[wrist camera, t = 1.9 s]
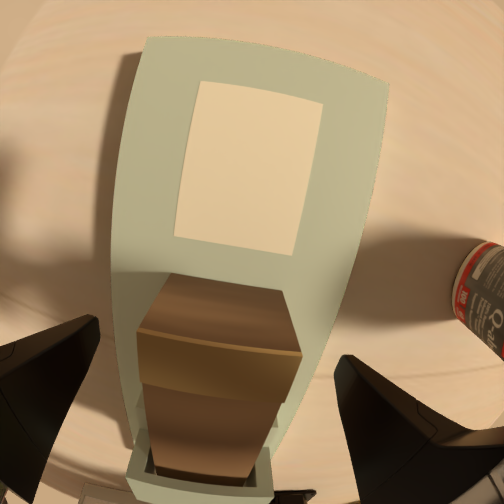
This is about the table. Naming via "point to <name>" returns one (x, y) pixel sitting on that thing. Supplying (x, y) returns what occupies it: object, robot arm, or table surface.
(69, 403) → the robot arm
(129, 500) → the red striped block
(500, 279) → the pill bottle
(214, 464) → the brown rectangular block
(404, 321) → the table surface
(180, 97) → the tunnel deck
